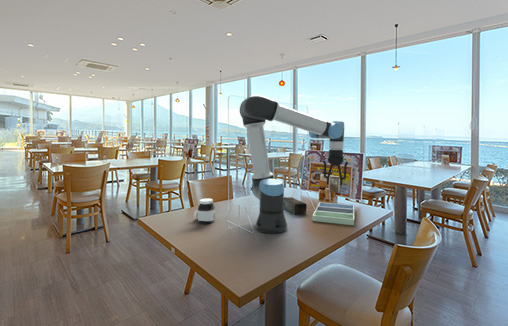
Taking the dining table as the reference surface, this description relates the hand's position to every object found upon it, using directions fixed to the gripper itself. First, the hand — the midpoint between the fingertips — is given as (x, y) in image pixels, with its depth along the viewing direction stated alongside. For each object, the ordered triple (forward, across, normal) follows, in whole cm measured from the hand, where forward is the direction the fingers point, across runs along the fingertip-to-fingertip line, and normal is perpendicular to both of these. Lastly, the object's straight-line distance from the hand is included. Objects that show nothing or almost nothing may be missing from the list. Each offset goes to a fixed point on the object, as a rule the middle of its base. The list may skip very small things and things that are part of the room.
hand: (334, 190), depth 151 cm
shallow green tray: (+14, -1, 0) cm, 14 cm away
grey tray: (+14, -1, -10) cm, 17 cm away
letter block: (0, 0, 0) cm, 0 cm away
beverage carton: (+15, +23, -3) cm, 28 cm away
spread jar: (+16, +65, +32) cm, 74 cm away
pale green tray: (+14, -1, +10) cm, 17 cm away
